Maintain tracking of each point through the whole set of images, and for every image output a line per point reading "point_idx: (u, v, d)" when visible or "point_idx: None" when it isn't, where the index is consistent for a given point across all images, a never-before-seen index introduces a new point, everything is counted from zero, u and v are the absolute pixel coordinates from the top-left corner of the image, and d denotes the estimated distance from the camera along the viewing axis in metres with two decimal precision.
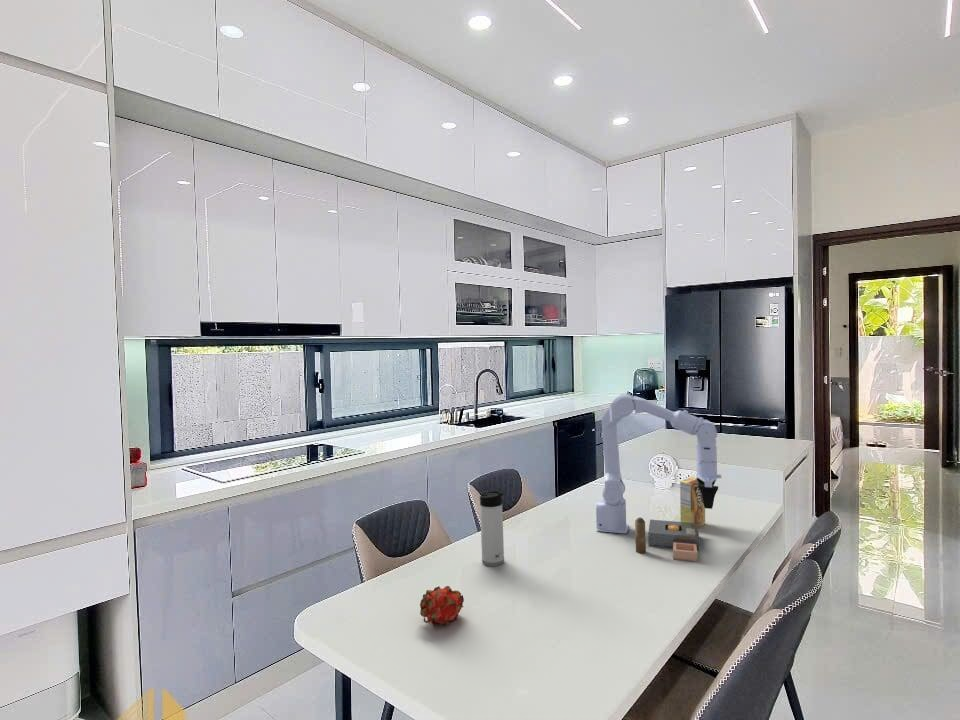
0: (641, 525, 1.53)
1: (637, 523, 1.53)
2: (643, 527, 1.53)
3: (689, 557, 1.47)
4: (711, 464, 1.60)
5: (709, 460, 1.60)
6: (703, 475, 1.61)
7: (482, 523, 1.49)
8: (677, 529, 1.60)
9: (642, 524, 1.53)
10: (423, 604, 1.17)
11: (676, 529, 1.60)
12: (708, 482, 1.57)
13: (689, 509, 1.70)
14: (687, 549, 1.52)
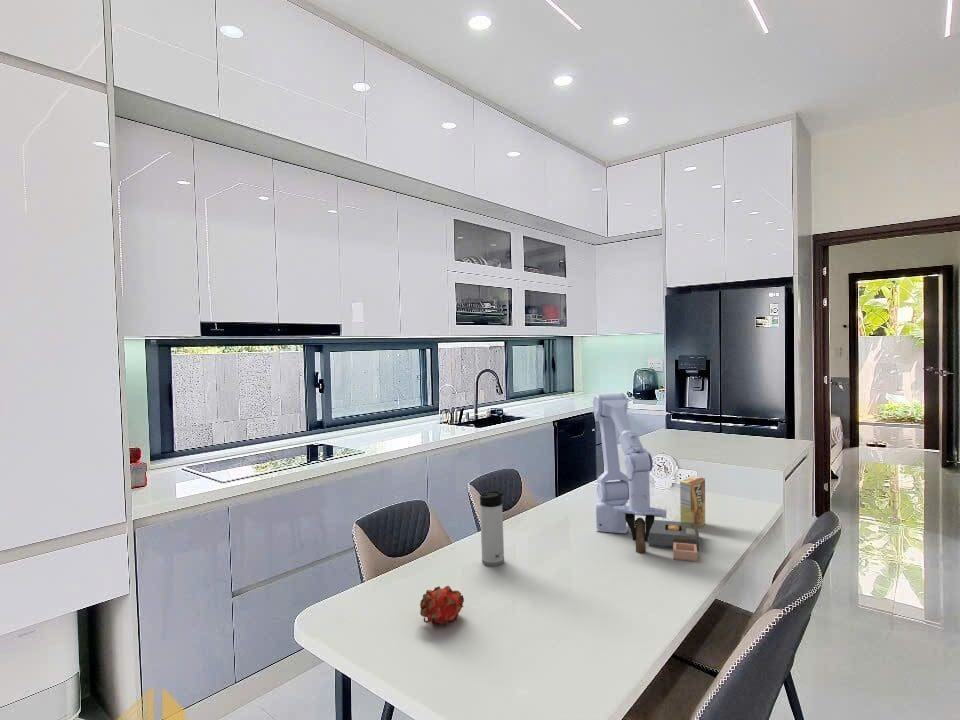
0: (641, 525, 1.53)
1: (637, 523, 1.53)
2: (643, 527, 1.53)
3: (689, 557, 1.47)
4: (629, 496, 1.54)
5: (631, 492, 1.53)
6: None
7: (482, 523, 1.49)
8: (677, 529, 1.60)
9: (642, 524, 1.53)
10: (423, 604, 1.17)
11: (676, 529, 1.60)
12: (613, 508, 1.57)
13: (689, 509, 1.70)
14: (687, 549, 1.52)
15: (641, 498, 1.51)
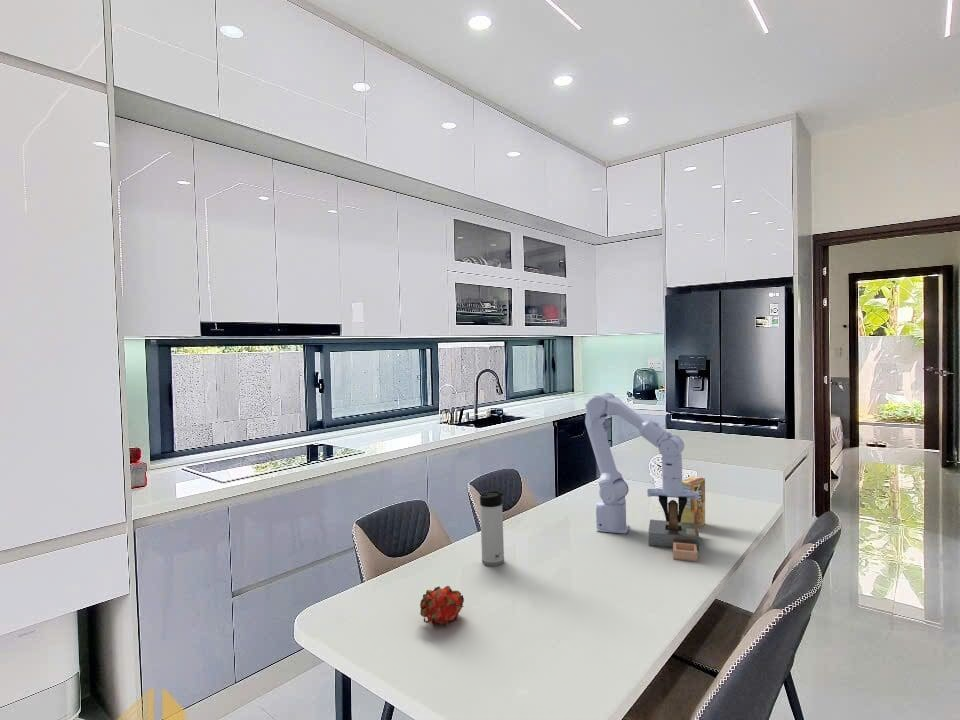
0: (674, 507, 1.60)
1: (670, 505, 1.60)
2: (676, 509, 1.60)
3: (689, 557, 1.47)
4: (663, 479, 1.61)
5: (671, 476, 1.59)
6: None
7: (482, 523, 1.49)
8: None
9: (675, 506, 1.60)
10: (423, 604, 1.17)
11: None
12: None
13: (689, 509, 1.70)
14: (687, 549, 1.52)
15: (674, 480, 1.58)
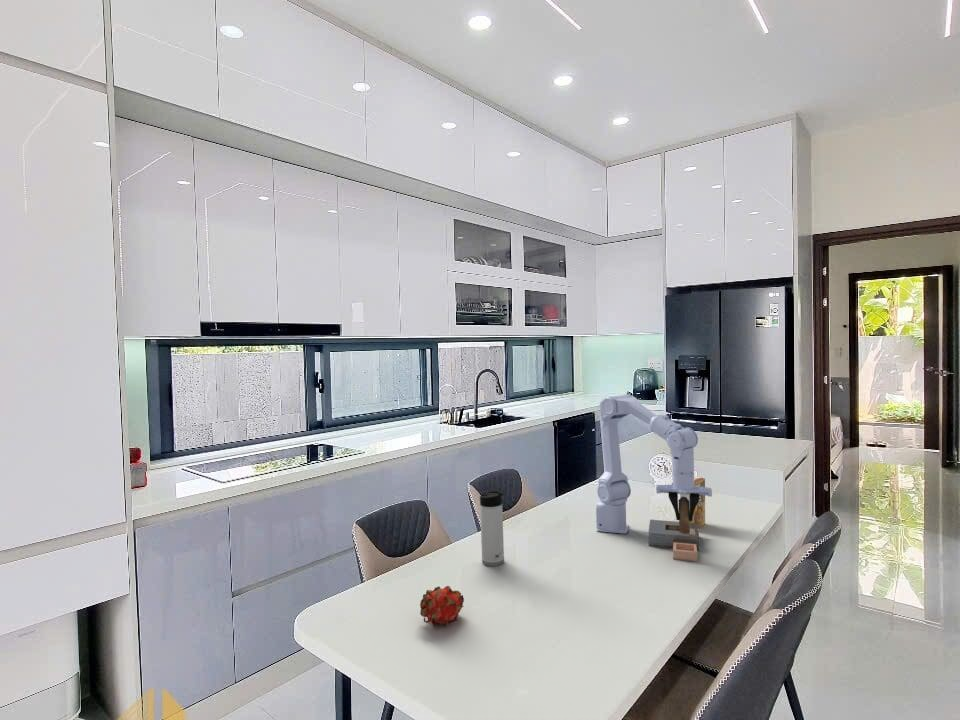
0: (685, 504, 1.49)
1: (681, 502, 1.49)
2: (687, 506, 1.49)
3: (689, 557, 1.47)
4: (673, 474, 1.50)
5: (678, 471, 1.48)
6: None
7: (482, 523, 1.49)
8: None
9: (686, 503, 1.49)
10: (423, 604, 1.17)
11: None
12: (656, 487, 1.52)
13: (689, 509, 1.70)
14: (687, 549, 1.52)
15: (686, 476, 1.47)
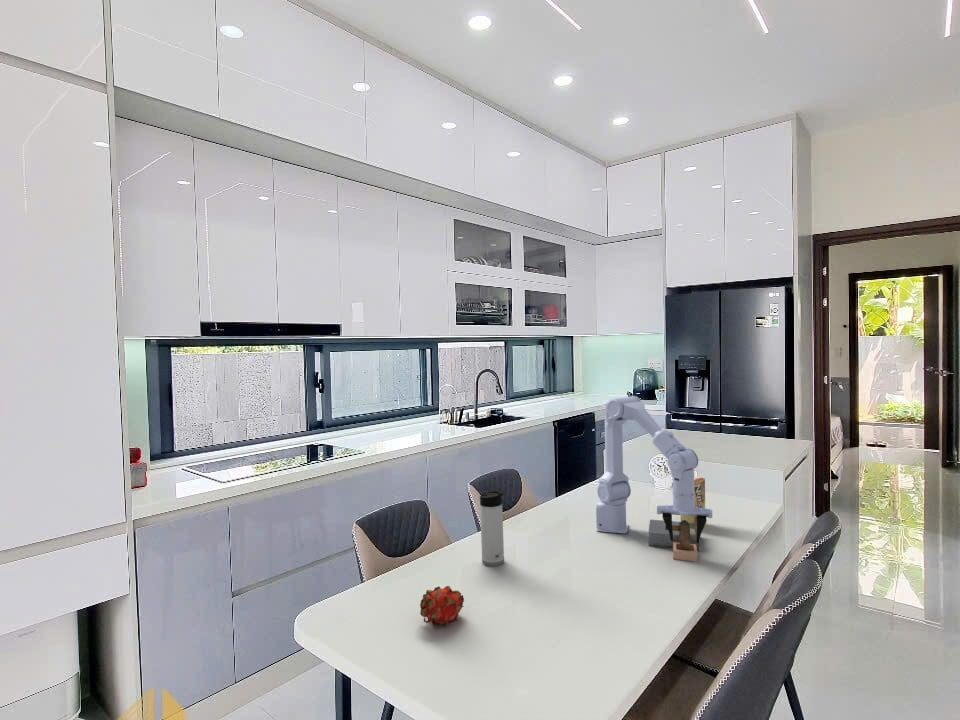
0: (685, 528, 1.49)
1: (681, 526, 1.49)
2: (687, 530, 1.49)
3: (689, 557, 1.47)
4: (673, 495, 1.50)
5: (679, 492, 1.48)
6: None
7: (482, 523, 1.49)
8: None
9: (686, 527, 1.49)
10: (423, 604, 1.17)
11: None
12: None
13: None
14: None
15: (686, 497, 1.47)
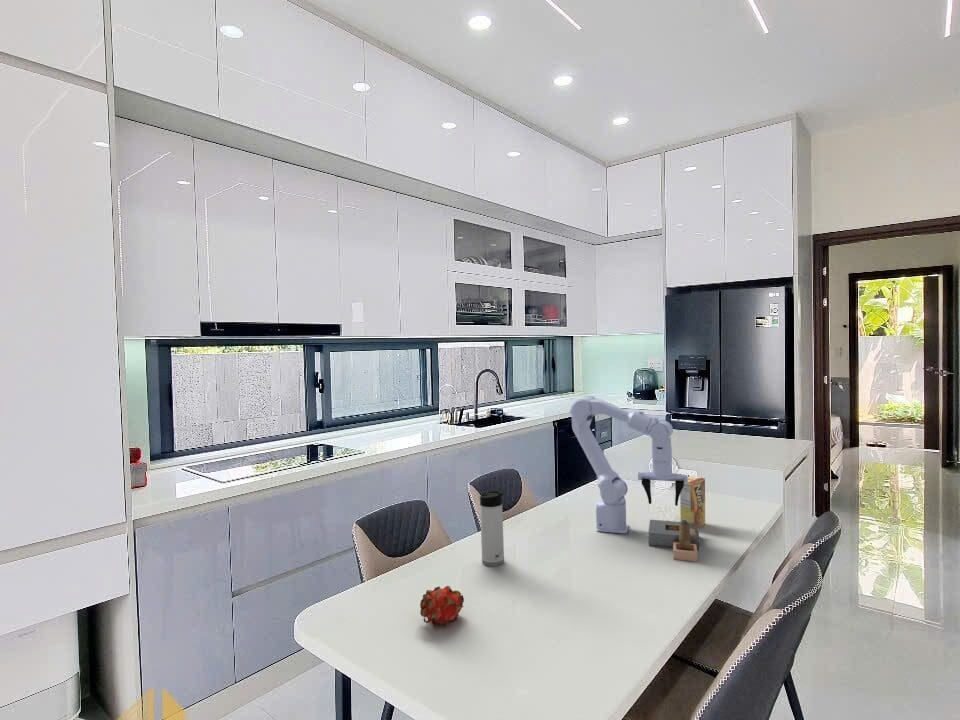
0: (685, 528, 1.49)
1: (681, 526, 1.49)
2: (687, 530, 1.49)
3: (689, 557, 1.47)
4: (653, 462, 1.64)
5: (662, 460, 1.62)
6: None
7: (482, 523, 1.49)
8: None
9: (686, 527, 1.49)
10: (423, 604, 1.17)
11: None
12: (638, 474, 1.67)
13: (689, 509, 1.70)
14: None
15: (664, 464, 1.62)
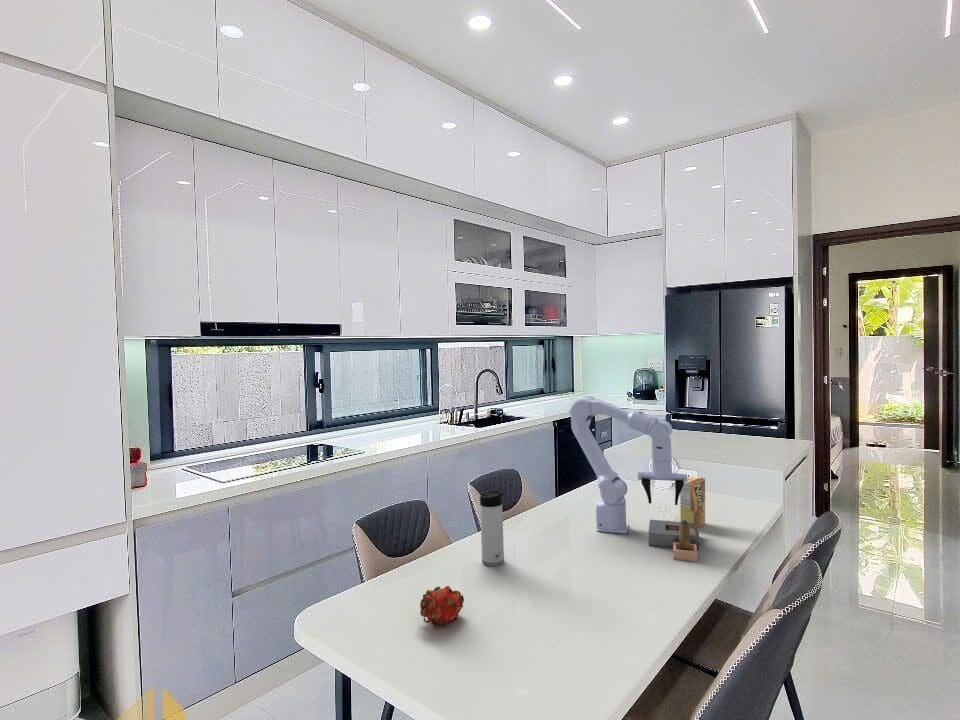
0: (685, 528, 1.49)
1: (681, 526, 1.49)
2: (687, 530, 1.49)
3: (689, 557, 1.47)
4: (653, 462, 1.65)
5: (661, 459, 1.62)
6: None
7: (482, 523, 1.49)
8: None
9: (686, 527, 1.49)
10: (423, 604, 1.17)
11: None
12: None
13: (689, 509, 1.70)
14: None
15: (664, 463, 1.62)
